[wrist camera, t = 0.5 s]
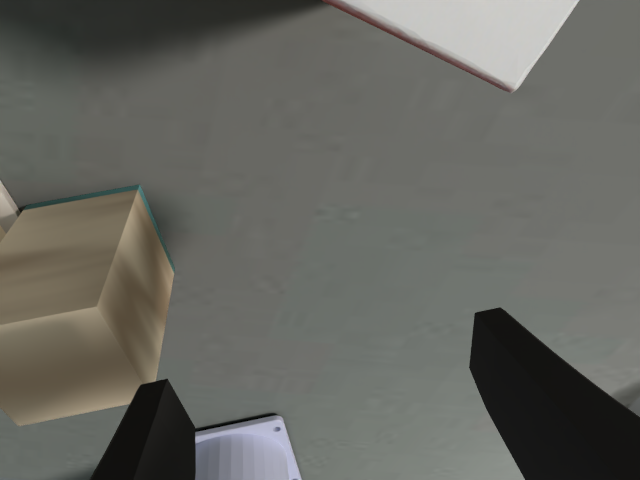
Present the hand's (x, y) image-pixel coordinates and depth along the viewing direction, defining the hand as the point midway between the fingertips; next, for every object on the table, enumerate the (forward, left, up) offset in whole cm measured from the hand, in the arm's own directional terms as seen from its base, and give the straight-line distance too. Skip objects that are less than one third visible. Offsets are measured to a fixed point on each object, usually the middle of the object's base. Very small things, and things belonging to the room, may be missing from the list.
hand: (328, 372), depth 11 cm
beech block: (-2, +8, -10) cm, 13 cm away
